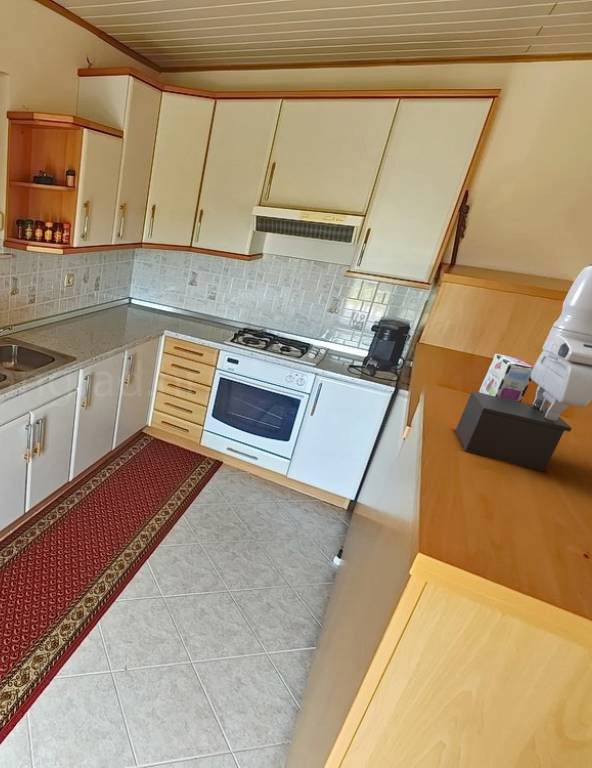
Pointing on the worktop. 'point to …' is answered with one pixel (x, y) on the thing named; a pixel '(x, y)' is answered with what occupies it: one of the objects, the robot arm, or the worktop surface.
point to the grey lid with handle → (519, 409)
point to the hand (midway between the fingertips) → (543, 413)
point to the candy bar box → (507, 378)
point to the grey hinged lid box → (506, 438)
